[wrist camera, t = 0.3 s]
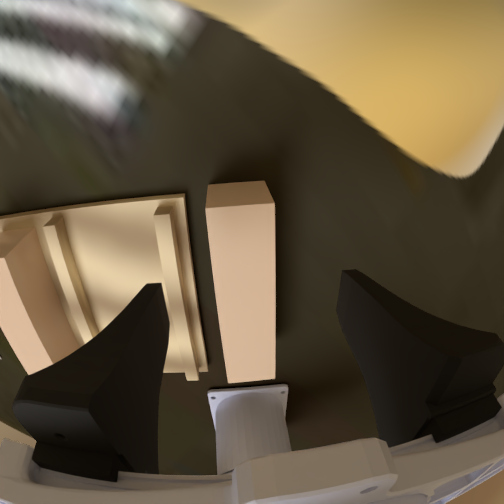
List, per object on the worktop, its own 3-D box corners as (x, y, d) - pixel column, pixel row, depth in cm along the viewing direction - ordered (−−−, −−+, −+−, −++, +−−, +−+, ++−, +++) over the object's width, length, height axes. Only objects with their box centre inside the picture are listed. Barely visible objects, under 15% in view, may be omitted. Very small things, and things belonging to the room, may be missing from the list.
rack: (208, 365, 28) (207, 383, 26) (38, 360, 27) (31, 375, 25) (184, 193, 20) (180, 205, 18) (-23, 220, 19) (-38, 231, 17)
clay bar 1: (88, 364, 26) (75, 400, 22) (57, 361, 26) (43, 396, 22) (35, 227, 19) (4, 257, 15) (1, 231, 19) (-30, 260, 15)
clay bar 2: (267, 339, 27) (275, 378, 24) (226, 343, 27) (228, 383, 23) (263, 179, 21) (274, 203, 17) (208, 183, 20) (205, 208, 17)
